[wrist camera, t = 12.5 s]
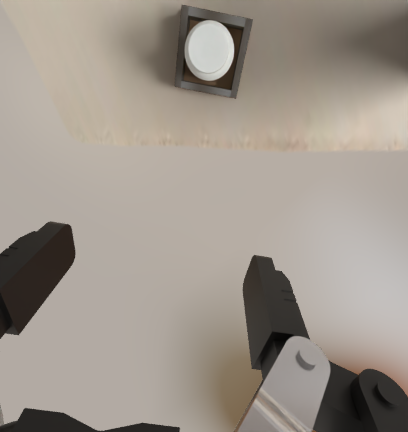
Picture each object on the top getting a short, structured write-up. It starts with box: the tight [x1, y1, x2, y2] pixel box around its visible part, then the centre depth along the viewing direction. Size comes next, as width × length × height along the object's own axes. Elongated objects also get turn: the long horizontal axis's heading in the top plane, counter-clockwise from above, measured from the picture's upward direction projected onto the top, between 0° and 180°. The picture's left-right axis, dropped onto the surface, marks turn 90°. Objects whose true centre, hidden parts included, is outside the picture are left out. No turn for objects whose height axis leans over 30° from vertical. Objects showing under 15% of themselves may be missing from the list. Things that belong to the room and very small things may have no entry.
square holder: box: [175, 5, 253, 99], centre depth 30 cm, size 9×9×3 cm
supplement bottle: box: [185, 20, 234, 81], centre depth 27 cm, size 5×5×10 cm
